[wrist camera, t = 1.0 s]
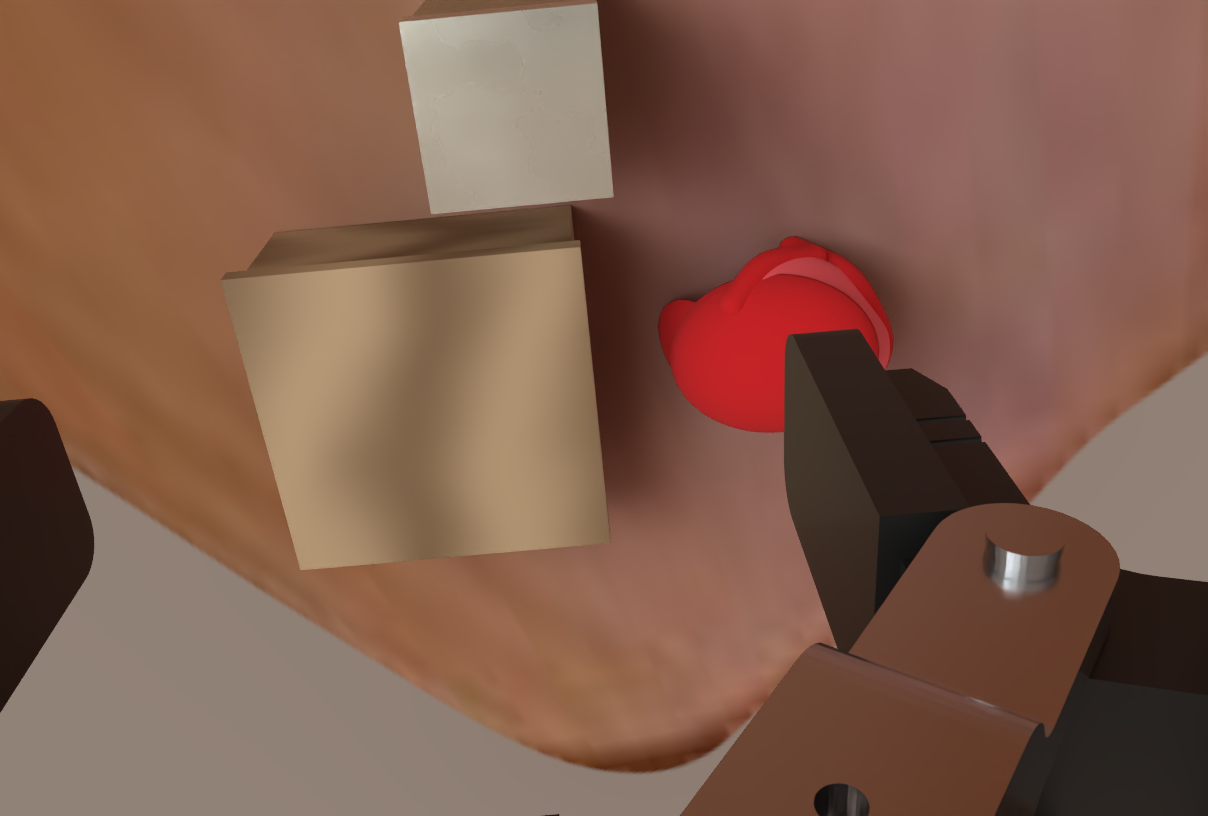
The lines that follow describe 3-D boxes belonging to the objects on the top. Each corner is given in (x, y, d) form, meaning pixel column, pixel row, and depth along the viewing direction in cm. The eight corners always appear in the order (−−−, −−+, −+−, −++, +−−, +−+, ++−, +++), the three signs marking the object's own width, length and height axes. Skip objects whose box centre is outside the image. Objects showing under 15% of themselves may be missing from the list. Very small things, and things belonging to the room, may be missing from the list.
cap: (893, 208, 33) (740, 262, 30) (944, 391, 33) (800, 460, 31) (744, 247, 40) (610, 293, 37) (790, 397, 41) (662, 453, 38)
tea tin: (590, -35, 32) (597, 3, 25) (604, 121, 34) (613, 197, 27) (436, -20, 32) (398, 22, 25) (459, 135, 34) (430, 214, 27)
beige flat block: (579, 195, 35) (580, 247, 31) (606, 466, 40) (610, 543, 36) (263, 224, 36) (220, 280, 31) (329, 490, 41) (300, 570, 36)
